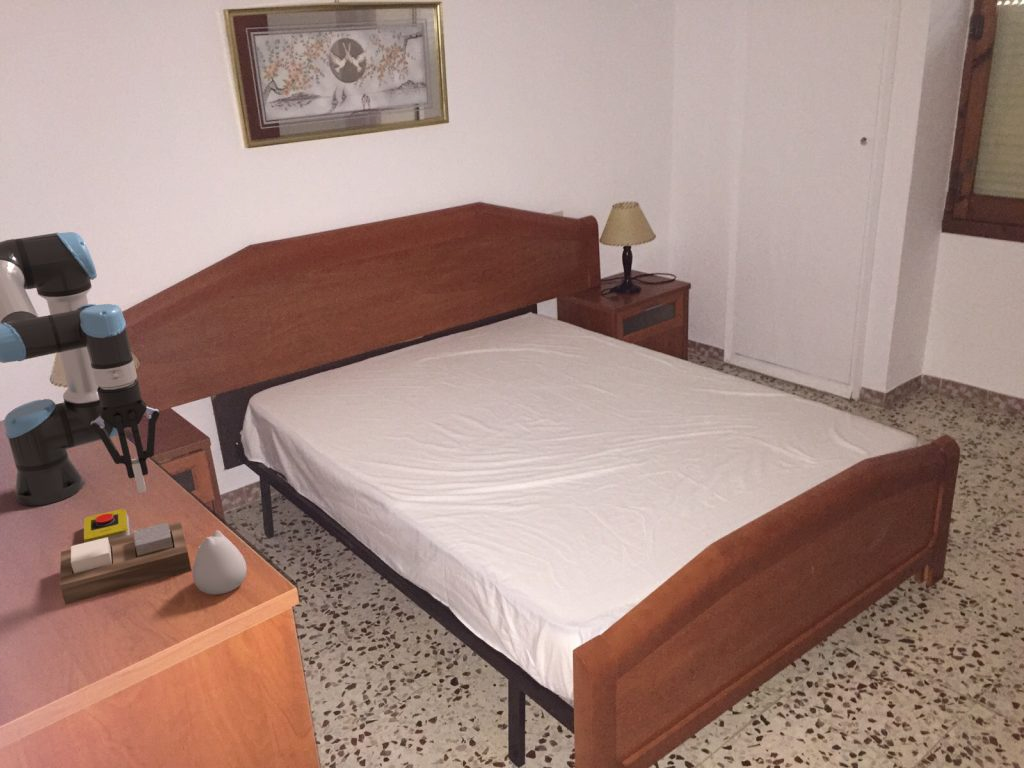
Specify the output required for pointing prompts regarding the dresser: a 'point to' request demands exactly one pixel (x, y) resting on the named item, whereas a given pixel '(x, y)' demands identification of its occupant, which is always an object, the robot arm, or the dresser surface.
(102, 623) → the dresser surface
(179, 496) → the dresser surface
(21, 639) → the dresser surface
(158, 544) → the steel key
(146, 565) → the brown wooden flat block
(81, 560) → the cream key
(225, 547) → the toy character
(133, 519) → the dresser surface
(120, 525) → the emergency button
